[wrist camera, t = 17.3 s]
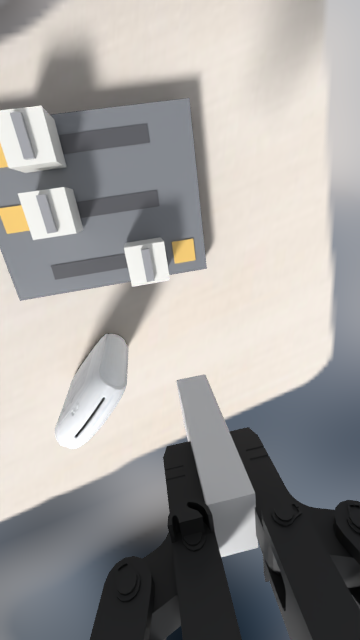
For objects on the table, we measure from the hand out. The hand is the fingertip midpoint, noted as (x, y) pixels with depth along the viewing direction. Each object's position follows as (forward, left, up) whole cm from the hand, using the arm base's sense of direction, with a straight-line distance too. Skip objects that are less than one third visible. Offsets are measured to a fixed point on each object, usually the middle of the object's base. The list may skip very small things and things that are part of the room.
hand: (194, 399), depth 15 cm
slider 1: (-9, +16, -21) cm, 28 cm away
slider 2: (-1, +4, -21) cm, 21 cm away
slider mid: (-9, +10, -21) cm, 25 cm away
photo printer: (-10, -10, -25) cm, 28 cm away
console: (-5, +10, -24) cm, 27 cm away
